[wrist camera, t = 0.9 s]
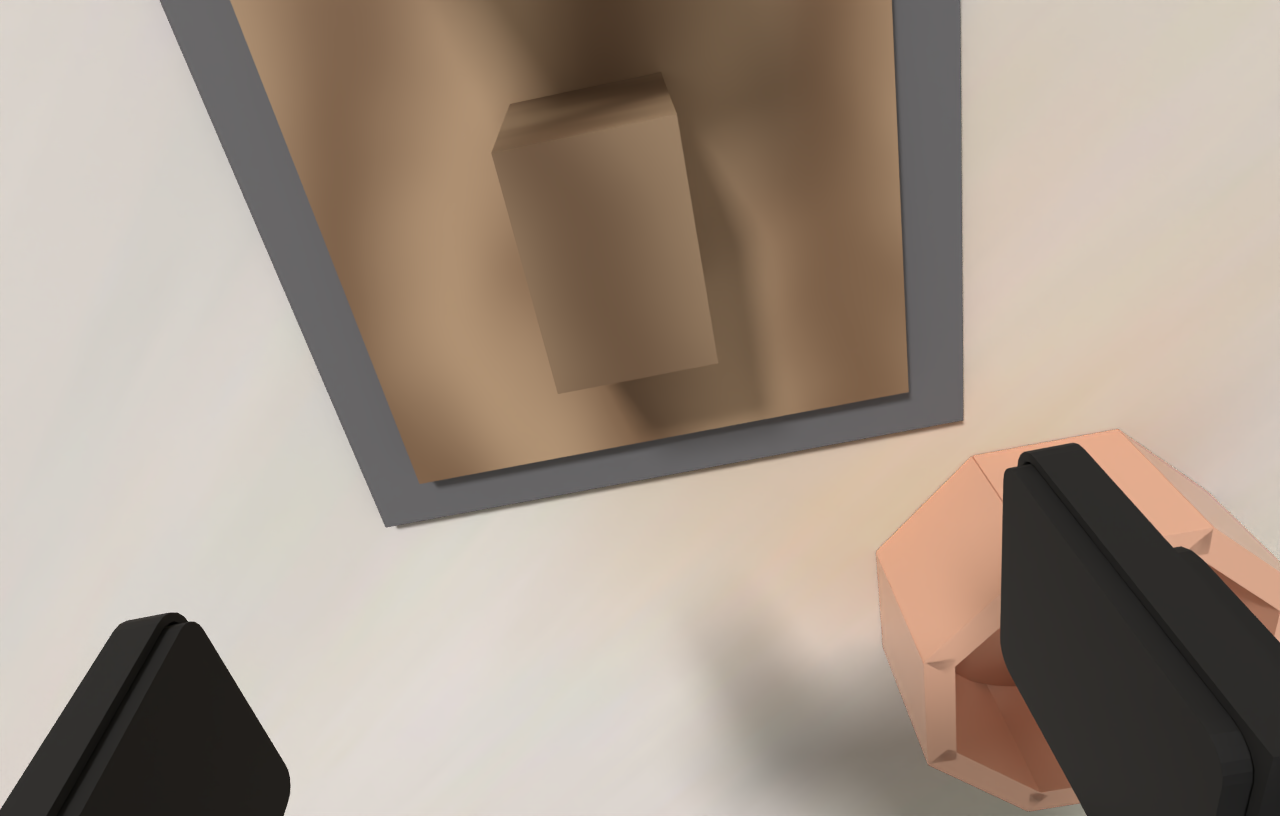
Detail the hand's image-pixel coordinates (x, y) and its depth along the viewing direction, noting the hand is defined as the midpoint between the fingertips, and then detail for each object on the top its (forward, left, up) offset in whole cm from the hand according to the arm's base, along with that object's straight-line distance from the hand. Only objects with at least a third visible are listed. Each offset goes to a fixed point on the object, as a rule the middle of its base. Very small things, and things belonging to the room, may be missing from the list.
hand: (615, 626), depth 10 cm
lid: (0, 0, -17) cm, 17 cm away
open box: (-13, +18, -18) cm, 28 cm away
